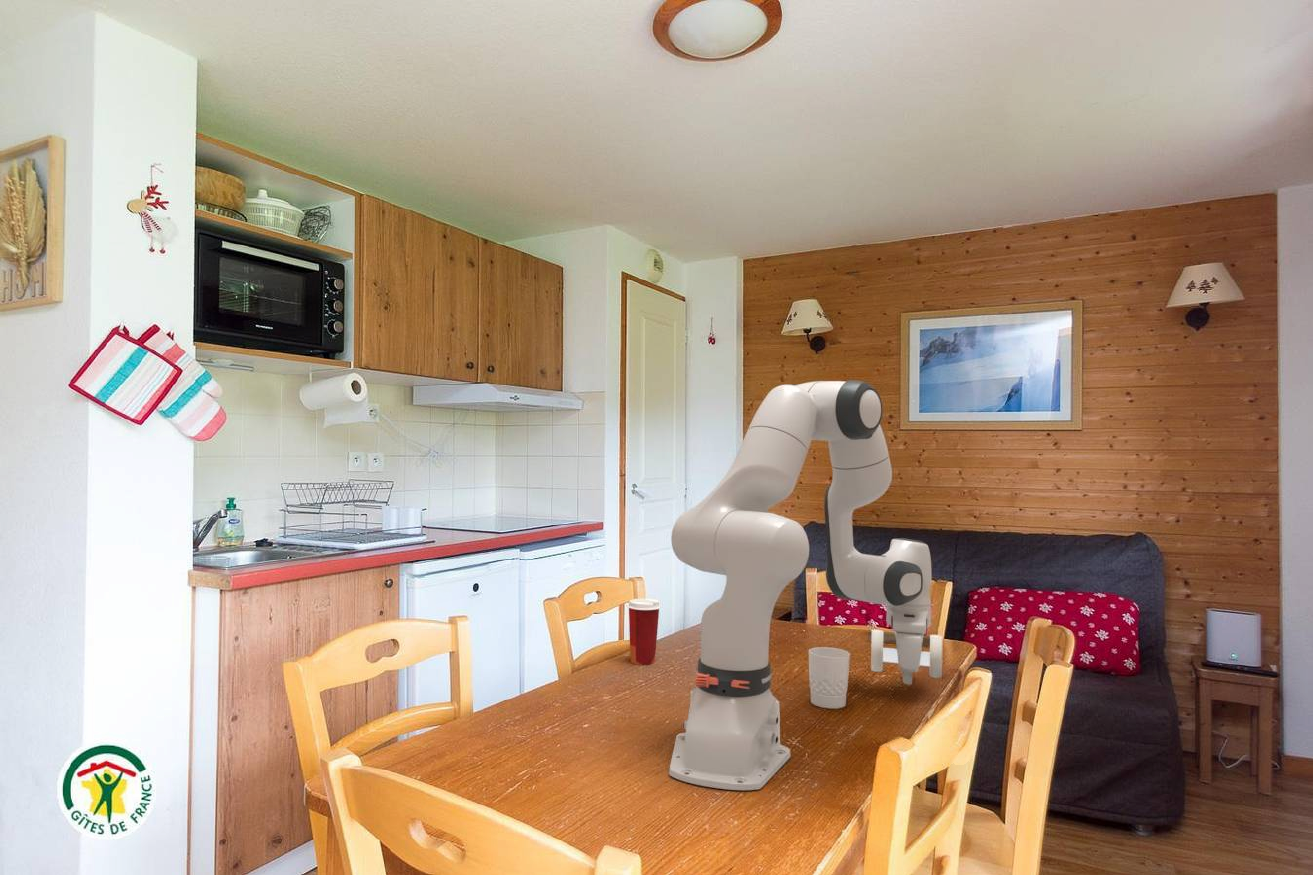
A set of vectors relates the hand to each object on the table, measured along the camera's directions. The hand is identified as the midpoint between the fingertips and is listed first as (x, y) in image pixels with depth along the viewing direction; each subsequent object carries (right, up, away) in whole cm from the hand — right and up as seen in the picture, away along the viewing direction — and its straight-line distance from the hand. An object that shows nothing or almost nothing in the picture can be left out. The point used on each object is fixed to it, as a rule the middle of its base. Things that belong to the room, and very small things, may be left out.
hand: (907, 682), depth 157 cm
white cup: (-19, -1, -10) cm, 21 cm away
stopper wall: (+12, -3, +40) cm, 42 cm away
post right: (+10, -2, +11) cm, 15 cm away
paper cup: (-56, -1, +16) cm, 58 cm away
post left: (-2, -2, +14) cm, 15 cm away
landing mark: (+8, -3, +27) cm, 28 cm away
